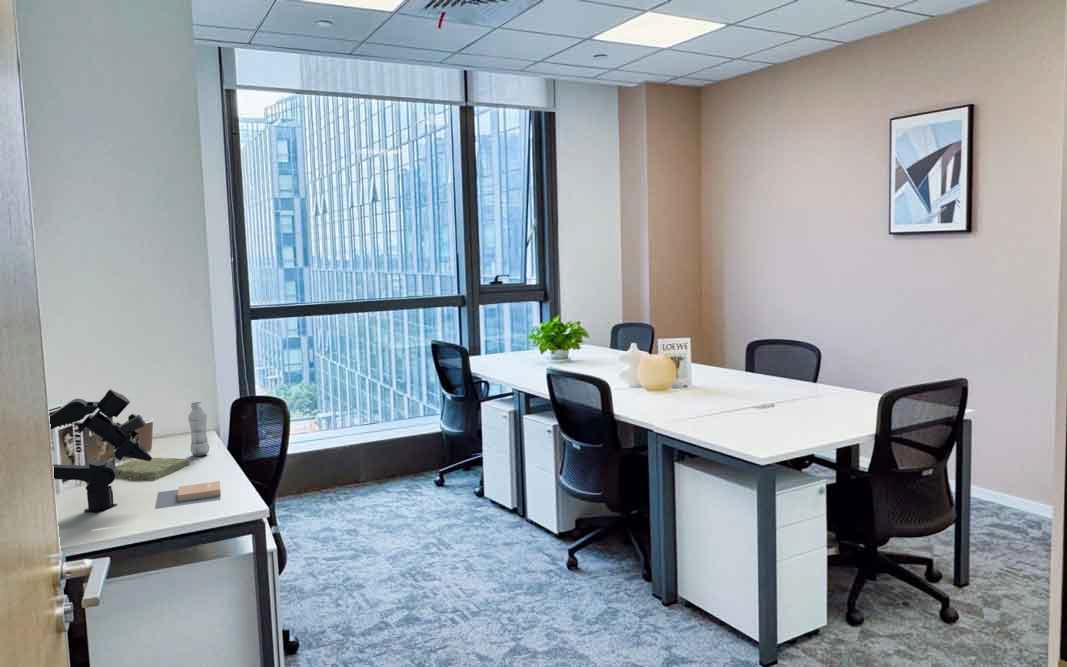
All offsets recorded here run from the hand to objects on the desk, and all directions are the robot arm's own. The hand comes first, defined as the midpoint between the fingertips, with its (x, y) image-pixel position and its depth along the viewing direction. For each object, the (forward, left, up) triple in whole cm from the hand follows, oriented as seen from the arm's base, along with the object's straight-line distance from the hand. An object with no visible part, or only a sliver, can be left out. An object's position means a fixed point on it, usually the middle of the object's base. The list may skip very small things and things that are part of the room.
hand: (151, 459), depth 238 cm
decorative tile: (+30, +26, -14) cm, 42 cm away
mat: (+5, -8, -13) cm, 16 cm away
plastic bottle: (+52, +21, -13) cm, 58 cm away
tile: (+4, -6, -12) cm, 14 cm away
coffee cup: (+55, +49, -13) cm, 75 cm away
